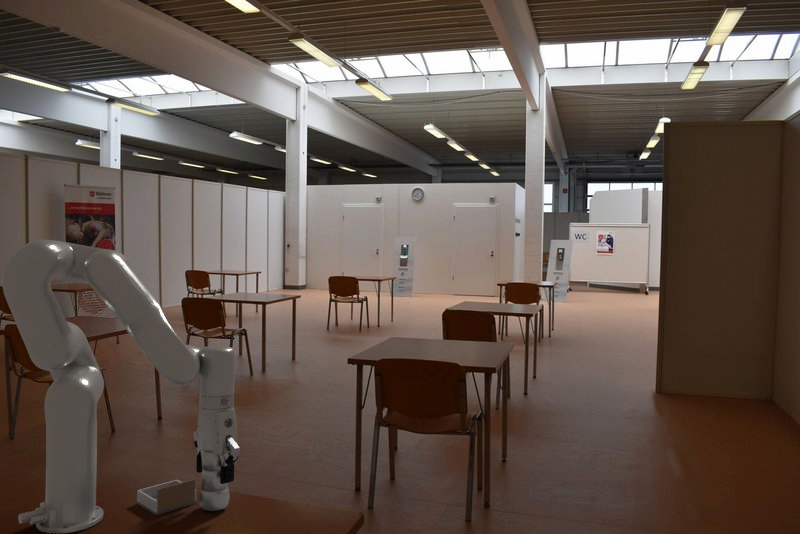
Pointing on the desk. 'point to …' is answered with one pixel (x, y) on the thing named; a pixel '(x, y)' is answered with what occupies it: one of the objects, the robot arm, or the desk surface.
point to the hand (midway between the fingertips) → (214, 476)
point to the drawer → (167, 496)
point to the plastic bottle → (212, 480)
